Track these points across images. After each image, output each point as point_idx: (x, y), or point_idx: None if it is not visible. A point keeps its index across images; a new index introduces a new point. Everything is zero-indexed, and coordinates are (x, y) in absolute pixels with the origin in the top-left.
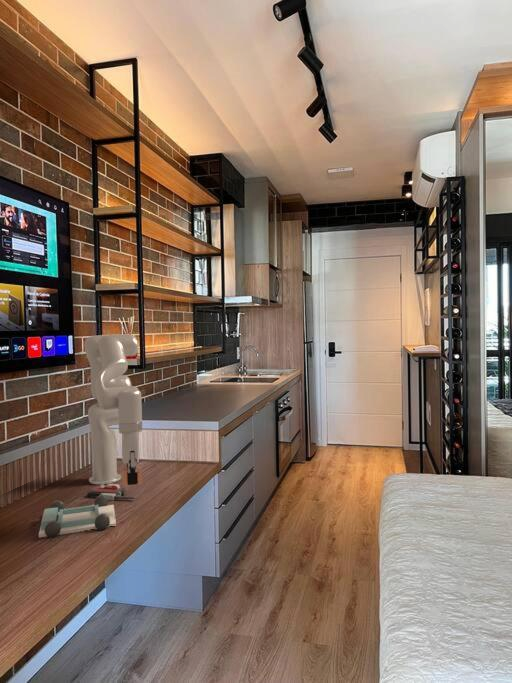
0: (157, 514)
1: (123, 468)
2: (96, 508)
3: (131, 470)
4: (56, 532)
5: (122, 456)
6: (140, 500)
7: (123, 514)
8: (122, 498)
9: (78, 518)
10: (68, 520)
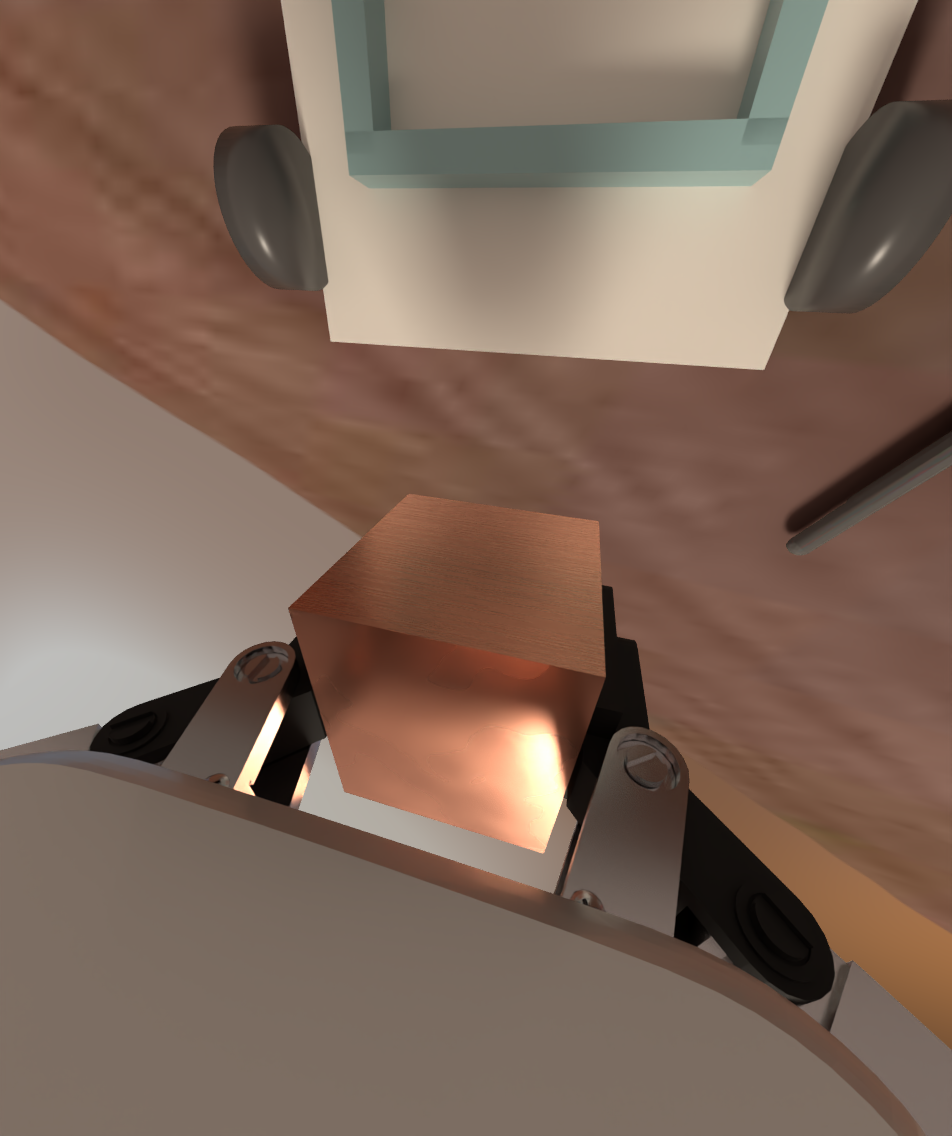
0: None
1: (464, 664)
2: (636, 143)
3: (191, 704)
4: None
5: (180, 1108)
6: (752, 574)
7: (540, 421)
8: (891, 471)
9: None
10: None
